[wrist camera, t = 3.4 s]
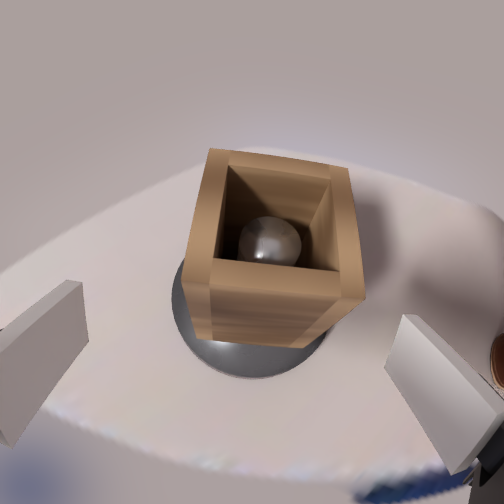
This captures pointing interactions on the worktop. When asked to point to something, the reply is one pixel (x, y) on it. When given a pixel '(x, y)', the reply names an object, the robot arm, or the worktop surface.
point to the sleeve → (265, 275)
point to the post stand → (244, 355)
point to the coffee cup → (498, 361)
